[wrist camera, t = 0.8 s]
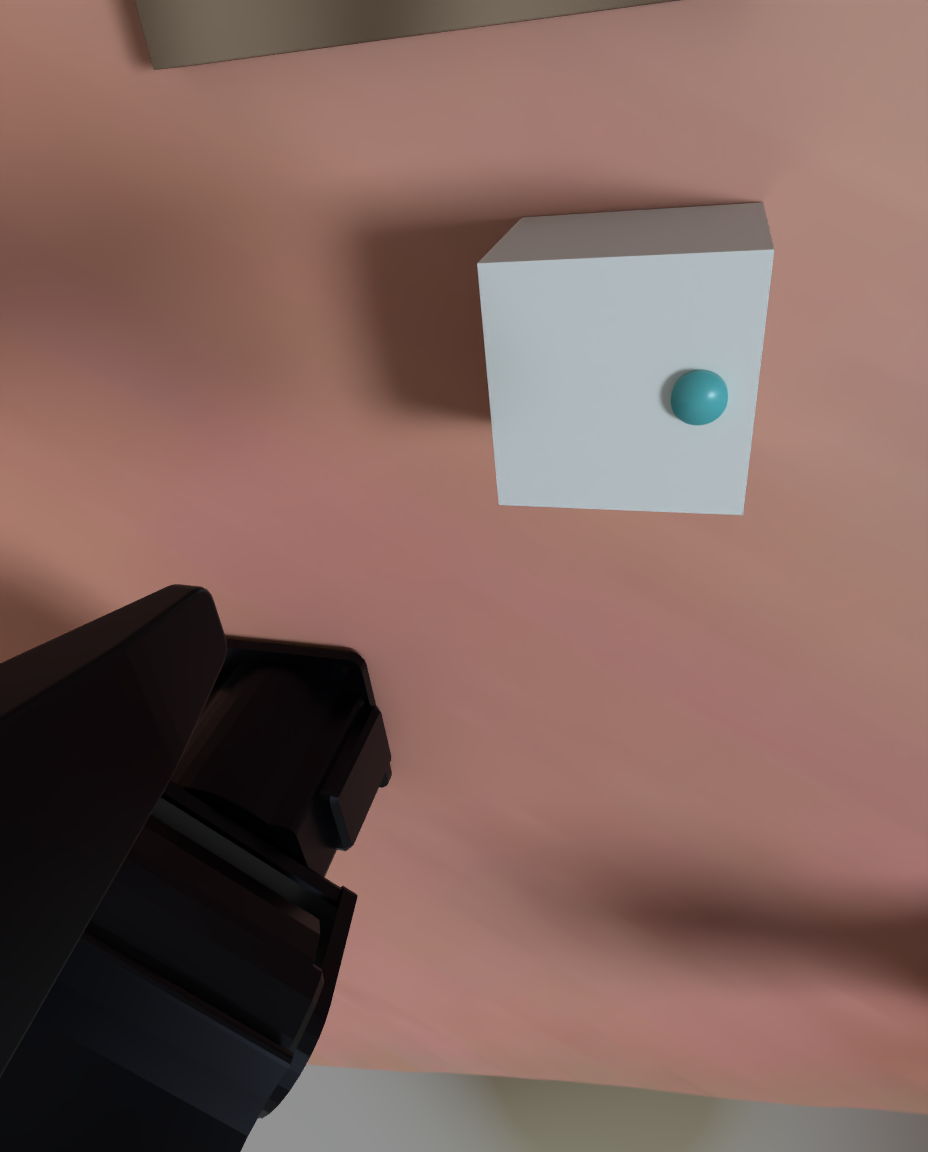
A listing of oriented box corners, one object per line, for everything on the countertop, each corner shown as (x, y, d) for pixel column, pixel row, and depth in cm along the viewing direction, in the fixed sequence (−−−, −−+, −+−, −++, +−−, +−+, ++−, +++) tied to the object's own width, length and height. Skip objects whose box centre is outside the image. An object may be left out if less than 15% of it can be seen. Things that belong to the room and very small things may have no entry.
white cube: (533, 427, 20) (497, 509, 16) (521, 217, 17) (474, 266, 14) (738, 430, 18) (742, 520, 15) (762, 201, 16) (775, 252, 12)
